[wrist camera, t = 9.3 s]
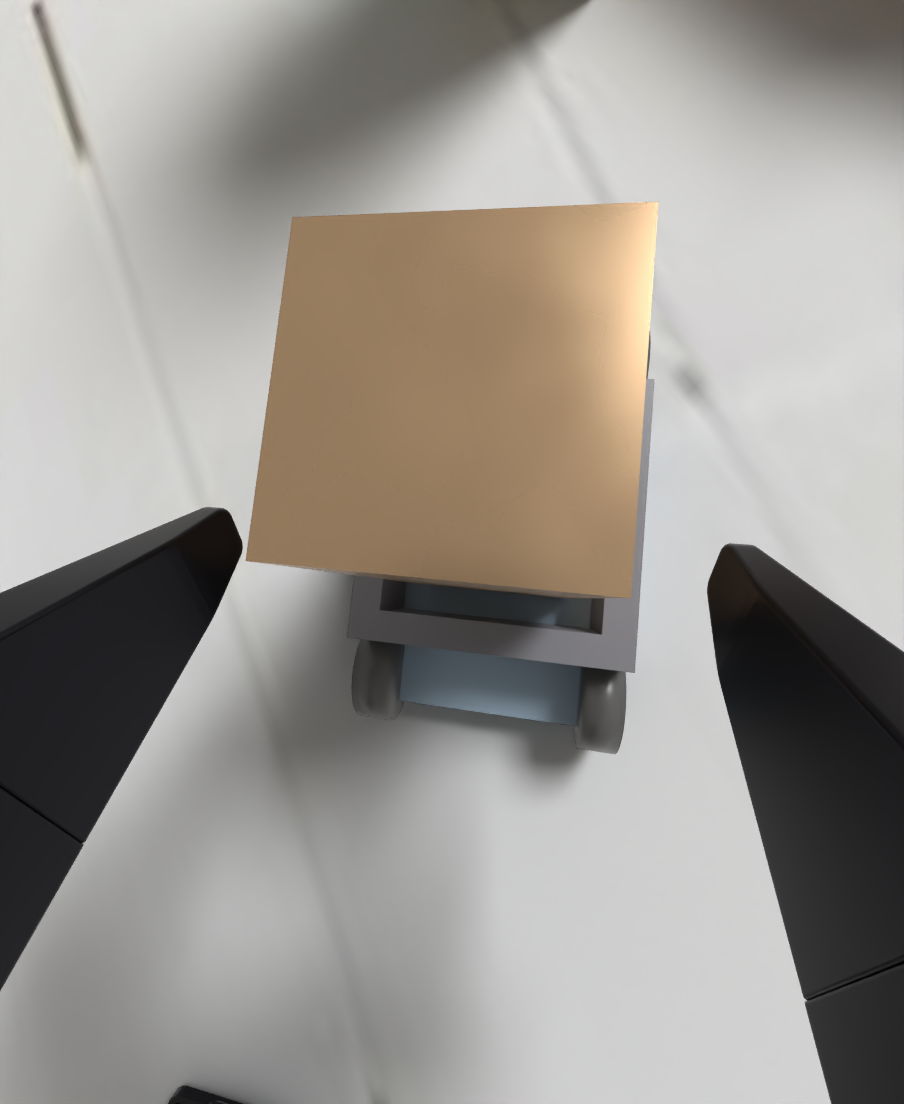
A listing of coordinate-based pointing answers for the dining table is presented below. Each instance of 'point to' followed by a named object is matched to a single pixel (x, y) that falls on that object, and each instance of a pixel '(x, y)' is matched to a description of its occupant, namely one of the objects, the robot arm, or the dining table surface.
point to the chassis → (502, 646)
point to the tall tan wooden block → (461, 398)
